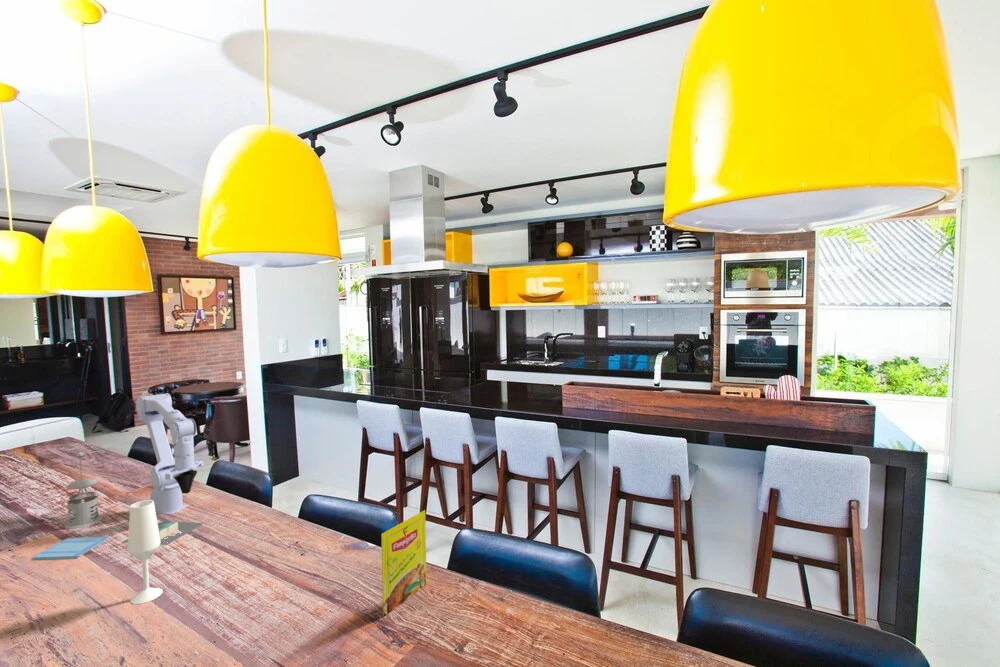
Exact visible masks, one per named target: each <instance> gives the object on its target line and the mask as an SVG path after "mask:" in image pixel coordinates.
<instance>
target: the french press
mask: <svg viewBox="0 0 1000 667" xmlns="http://www.w3.org/2000/svg"><path fill="white" fill-rule="evenodd" d="M82 456H84V452H82V451H78V452H77V453H76V457H79V463H80V464H79V467H80V468H79V469H80V470H79V471H80V479H76V480H74V481H72V482H70V483H69V484H68V485H66V486H65V488H66V489H68V490H78V491H79V492H78V493H75V494H72V495H70V496H69V497H68V500H69V501H68V502H67V505H66V506H67V520H68V521H67V522H68V523H66V525H65V526H64V528H65V529H67V530H77V529H76V528H78V529H83V528H82V527H84V528H87V527H89V526H90V525H91V526H93V525H95V523H96V524H98V523H100V522H101V521H102V520H103V517H101V516H100V514H99V505H98V504H99V502H98V501H99V499H98V495H96V494H97V492H96V491H87V488H89V487H93V486H95V485H96V484H97V483H98V480H96V479H93V478H83V476H82V475H83V474H82V458H81V457H82ZM83 490H85V492H84V491H83ZM82 500H84V502H82ZM101 519H102V520H101ZM100 520H101V521H100ZM99 521H100V522H99ZM97 522H98V523H97ZM86 526H87V527H86ZM91 526H90V527H91Z"/></svg>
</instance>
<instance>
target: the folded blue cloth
mask: <svg viewBox="0 0 1000 667" xmlns="http://www.w3.org/2000/svg"><path fill="white" fill-rule="evenodd" d="M110 538H111V536H92V537H91V536H90V537H87V536H86V537H85V536H84V537H67V538H65V539H63V540H61V541H60V542H57V543H56V544H54V545H51V546H49V547H48V548H46V549H44V550H42V551H41V552H39V553H37V554H35V555H33V556H34V557H33V560H35V561H36V560H37V561H38V560H42V561H43V560H66V559H65V558H73V559H79V558H78V557H80V556H81V555H84V554H85V553H87V552H90V550H92V549H93V548H95V547H96V546H98V545H100V544H102V543H104V542H106V541H107V540H108V539H110ZM80 558H81V557H80Z"/></svg>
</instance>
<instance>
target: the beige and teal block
mask: <svg viewBox="0 0 1000 667" xmlns="http://www.w3.org/2000/svg"><path fill="white" fill-rule="evenodd" d="M178 522H179V521H172V522H168V520H167V521H166V520H161V521H159V522H157V523H158V529H159V535H160V540H161V539H162V538H164V537H166V536H168V535H169V534H171V533H173V532H175V531H176V530H178Z"/></svg>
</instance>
